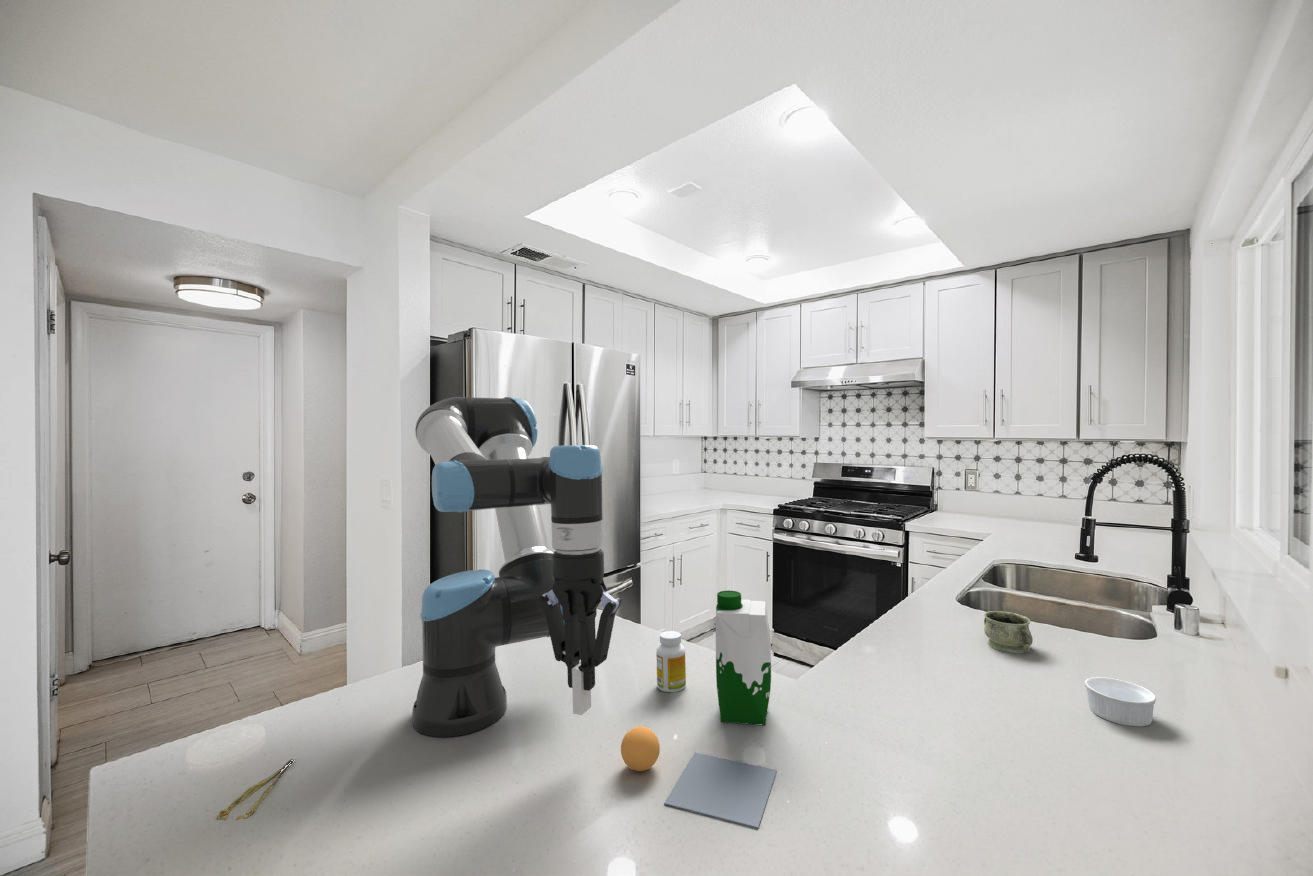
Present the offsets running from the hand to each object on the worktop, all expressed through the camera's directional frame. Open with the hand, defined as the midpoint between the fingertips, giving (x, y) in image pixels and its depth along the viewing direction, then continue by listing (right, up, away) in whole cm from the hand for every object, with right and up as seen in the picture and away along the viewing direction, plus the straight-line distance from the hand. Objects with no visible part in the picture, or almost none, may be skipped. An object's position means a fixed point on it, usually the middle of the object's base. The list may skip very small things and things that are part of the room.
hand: (582, 710), depth 81 cm
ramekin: (+86, -5, +9) cm, 87 cm away
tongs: (-43, -9, -6) cm, 44 cm away
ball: (+9, -4, -3) cm, 10 cm away
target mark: (+20, -6, -8) cm, 22 cm away
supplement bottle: (+14, -7, +22) cm, 26 cm away
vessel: (+87, -5, +38) cm, 95 cm away
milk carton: (+26, -6, +11) cm, 29 cm away
